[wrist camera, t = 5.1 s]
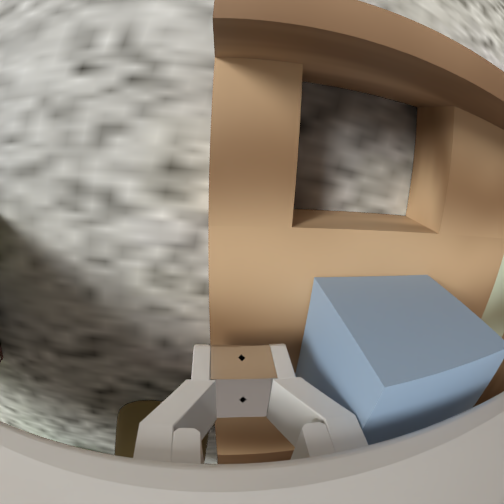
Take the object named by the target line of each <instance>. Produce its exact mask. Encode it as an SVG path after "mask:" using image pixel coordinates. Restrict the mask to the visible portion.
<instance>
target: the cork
mask: <svg viewBox="0 0 504 504" xmlns="http://www.w3.org/2000/svg"><path fill="white" fill-rule="evenodd" d="M161 403H162V402H161V401H154V400H146V401H136V402H132V403H129V404H126V405H125V406H124V407H122V408H121V409H120V410H119V413H118V416H117V427H116V442H115V455H117V456H123V457H129V458H133V456H134V450H135V444H136V439H137V434H138V428H139V423H140V422H141V421H142V420H143V419H145V418H146V417H147V416H148V415H149V414H150V413H151V412H152V411H153V410H154V409H155V408H157V407H158V406H159V405H160V404H161ZM208 434H209V431H208V432H207V434H206V435H205V437H204V438H203V439H202V441H201V442H202V450H203V458H204V460H205V454H206V447H207V441H208Z"/></svg>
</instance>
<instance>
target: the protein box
mask: <svg viewBox="0 0 504 504" xmlns="http://www.w3.org/2000/svg"><path fill="white" fill-rule="evenodd" d="M2 359H3V354H2V350H1V345H0V362H1V360H2Z"/></svg>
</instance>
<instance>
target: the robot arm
mask: <svg viewBox="0 0 504 504" xmlns="http://www.w3.org/2000/svg"><path fill="white" fill-rule="evenodd" d="M265 416H267V418H268V420H269V421H270V422H271V423H272V424H273V425H274V426H275V427H276V428H277V429H278V430H279V431H280V432H281V433H282V434H283V435H284V436H285V437H286V438H287V439H288V441H289V442H290V443H291V444H292V445H293V446H294V447H295V449H294V451H293V454H292V457H291V459H290V460H285V461H275V462H263V463H247V464H204V458H203V450H202V442H201V441H202V439H203V438H204V437H205V435H206V434H207V432H208V431H209V430H210V428H211V427H212V425H213V424H214V422H215V421H216V420H217V418H229V417H265ZM0 504H504V391H503V392H502V393H500V394H498V395H496V396H494V397H493V398H491V399H489V400H487V401H485V402H483V403H481V404H479V405H477V406H475V407H473V408H471V409H469V410H467V411H464V412H462V413H460V414H458V415H455V416H453V417H451V418H448V419H446V420H444V421H441V422H439V423H436V424H434V425H431V426H428V427H426V428H423V429H420V430H417V431H414V432H412V433H409V434H406V435H402V436H399V437H396V438H393V439H389V440H386V441H382V442H379V443H375V444H371V445H368V443H367V440H366V438H365V436H364V434H363V431H362V429H361V427H360V425H359V422H358V420H357V418H356V416H355V415H354V414H353V413H351V412H350V411H348V410H347V409H345V408H344V407H343V406H341V405H340V404H338V403H337V402H335V401H334V400H332V399H331V398H329V397H328V396H326V395H325V394H324V393H322V392H321V391H319V390H318V389H317V388H315V387H314V386H312V385H311V384H309V383H308V382H307V381H305V380H304V379H303V378H301V377H296V376H295V372H294V369H293V366H292V363H291V360H290V357H289V354H288V351H287V348H286V345H285V344H284V343H283V344H269V345H211V346H210V345H205V344H195V345H194V350H193V362H192V375H191V380H190V379H186V380H185V381H184V382H183V383H182V384H181V385H180V386H179V387H178V388H177V389H176V390H175V391H174V392H173V393H172V394H171V395H169V396H168V397H167V398H166V399H165V400H164V401H163V402H162V403H161V404H160V405H159V406H158V407H157V408H155V409H154V410H153V411H152V412H151V413H150V414H149V415H148V416H147V417H146V418H145V419H143V420H142V421H141V422H140V423H139V428H138V434H137V439H136V444H135V450H134V456H133V458H129V457H123V456H117V455H111V454H106V453H101V452H96V451H92V450H87V449H83V448H79V447H75V446H71V445H67V444H64V443H60V442H57V441H53V440H50V439H47V438H44V437H41V436H38V435H35V434H32V433H29V432H26V431H24V430H21V429H18V428H16V427H13V426H11V425H8V424H6V423H3V422H1V421H0Z"/></svg>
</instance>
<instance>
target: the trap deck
mask: <svg viewBox="0 0 504 504" xmlns="http://www.w3.org/2000/svg"><path fill="white" fill-rule="evenodd" d="M213 31H214V49H215V65H214V79H213V96H212V115H211V138H210V169H209V312H210V343H211V345H269V344H283V343H284V344H285V345H286V348H287V351H288V354H289V357H290V360H291V363H292V366H293V369H294V372H295V373H296V369H297V364H298V359H299V355H300V350H301V345H302V340H303V335H304V330H305V325H306V320H307V315H308V310H309V304H310V299H311V293H312V287H313V281H314V277H365V276H404V275H428V276H430V277H431V278H432V279H433V280H435V281H436V282H437V283H438V284H440V285H441V286H442V287H443V288H445V289H446V290H447V291H448V292H450V293H451V294H452V295H453V296H455V297H456V298H457V299H458V300H459V301H461V302H462V303H463V304H464V305H465V306H466V307H468V308H469V309H470V310H471V311H472V312H473V313H475V314H476V315H477V316H478V317H479V318H480V319H481V320H483V321H484V322H485V323H486V324H487V325H488V326H489V327H490V328H492V329H493V330H494V331H495V332H496V333H497V334H498V335H499V336H500V337H501V338H502V339H503V340H504V72H503V71H502V70H500V69H499V68H497V67H496V66H495V65H493V64H492V63H490V62H489V61H487V60H486V59H484V58H483V57H481V56H479V55H478V54H476V53H475V52H473V51H471V50H470V49H468V48H466V47H465V46H463V45H461V44H459V43H457V42H456V41H454V40H452V39H450V38H448V37H446V36H444V35H443V34H441V33H439V32H437V31H435V30H433V29H430V28H428V27H426V26H424V25H422V24H420V23H417V22H415V21H413V20H410V19H408V18H406V17H403V16H401V15H398V14H396V13H393V12H390V11H388V10H385V9H382V8H379V7H376V6H374V5H370V4H367V3H364V2H361V1H358V0H215V1H214V11H213ZM302 82H309V83H316V84H322V85H328V86H334V87H339V88H344V89H349V90H354V91H358V92H363V93H367V94H371V95H376V96H380V97H383V98H387V99H391V100H395V101H398V102H402V103H405V104H408V105H412V106H415V107H417V126H416V140H415V151H414V161H413V170H412V178H411V185H410V192H409V199H408V205H407V211H406V216H401V215H389V214H376V213H361V212H346V211H329V210H309V209H294V197H295V185H296V172H297V159H298V145H299V129H300V113H301V94H302ZM503 391H504V359H503V361H502V363H501V365H500V366H499V368H498V370H497V371H496V373H495V375H494V376H493V378H492V380H491V381H490V383H489V384H488V386H487V387H486V389H485V390H484V392H483V393H482V395H481V396H480V398H479V399H478V401H477V402H476V404H475V405H474V406H473V407H475V406H477V405H479V404H481V403H483V402H485V401H487V400H489V399H491V398H493V397H494V396H496V395H498V394H500V393H502V392H503ZM215 432H216V445H217V458H218V464H247V463H263V462H275V461H285V460H290V459H291V457H292V454H293V451H294V449H295V447H294V446H293V445H292V444H291V443H290V442H289V441H288V439H287V438H286V437H285V436H284V435H283V434H282V433H281V432H280V431H279V430H278V429H277V428H276V427H275V426H274V425H273V424H272V423H271V422H270V421H269V420H268V418H267V416H265V417H229V418H217V420H216V421H215Z"/></svg>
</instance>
